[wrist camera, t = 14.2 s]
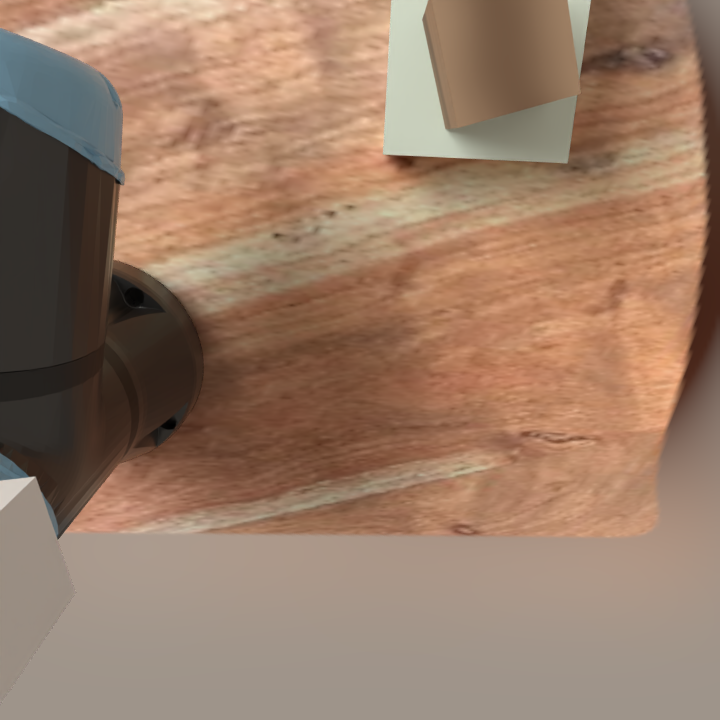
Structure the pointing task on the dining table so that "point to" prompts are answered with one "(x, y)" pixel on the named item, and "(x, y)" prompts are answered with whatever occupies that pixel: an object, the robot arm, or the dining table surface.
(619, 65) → the dining table surface
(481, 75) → the walnut block
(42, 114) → the robot arm
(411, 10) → the pedestal block
